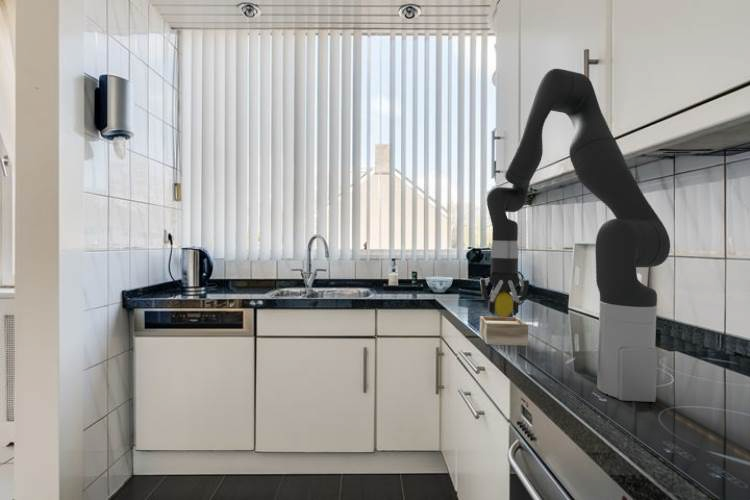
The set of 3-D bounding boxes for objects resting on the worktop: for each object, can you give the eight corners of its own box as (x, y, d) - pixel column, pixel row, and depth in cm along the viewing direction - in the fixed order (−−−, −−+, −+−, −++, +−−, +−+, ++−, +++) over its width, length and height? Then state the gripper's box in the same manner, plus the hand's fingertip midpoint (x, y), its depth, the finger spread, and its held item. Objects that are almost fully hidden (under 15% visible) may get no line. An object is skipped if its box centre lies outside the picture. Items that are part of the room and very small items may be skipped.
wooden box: (527, 346, 111) (528, 325, 111) (486, 345, 112) (487, 323, 112) (516, 337, 122) (517, 317, 122) (479, 335, 123) (479, 316, 123)
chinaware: (421, 290, 230) (421, 276, 230) (444, 289, 235) (445, 276, 235) (432, 293, 216) (433, 279, 216) (457, 293, 221) (457, 279, 220)
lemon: (489, 316, 119) (489, 289, 118) (504, 315, 120) (505, 289, 120) (501, 320, 113) (501, 292, 113) (517, 319, 115) (517, 291, 115)
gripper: (481, 256, 113) (480, 316, 114) (534, 257, 112) (532, 317, 113) (477, 255, 121) (475, 311, 121) (526, 256, 120) (524, 313, 120)
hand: (503, 314), depth 117 cm, fingers closed on lemon, 5 cm apart
